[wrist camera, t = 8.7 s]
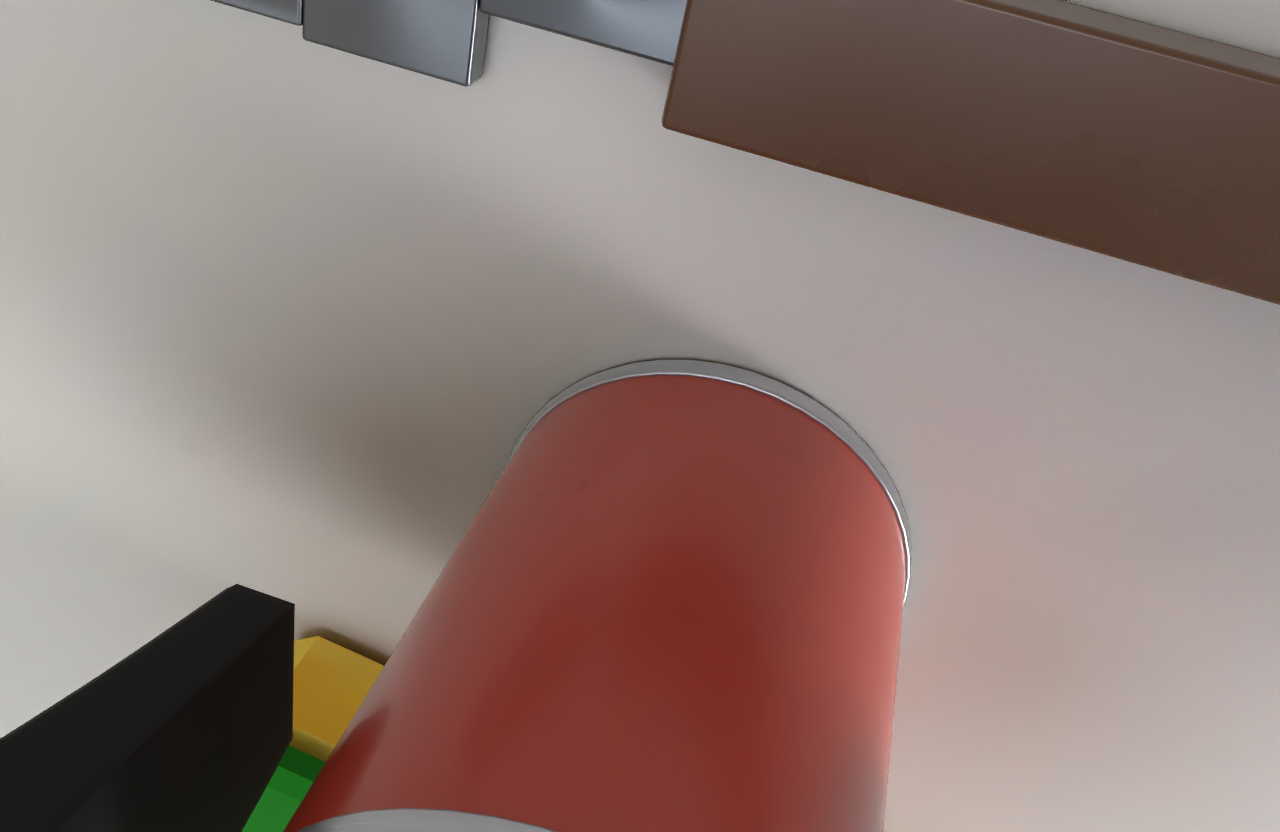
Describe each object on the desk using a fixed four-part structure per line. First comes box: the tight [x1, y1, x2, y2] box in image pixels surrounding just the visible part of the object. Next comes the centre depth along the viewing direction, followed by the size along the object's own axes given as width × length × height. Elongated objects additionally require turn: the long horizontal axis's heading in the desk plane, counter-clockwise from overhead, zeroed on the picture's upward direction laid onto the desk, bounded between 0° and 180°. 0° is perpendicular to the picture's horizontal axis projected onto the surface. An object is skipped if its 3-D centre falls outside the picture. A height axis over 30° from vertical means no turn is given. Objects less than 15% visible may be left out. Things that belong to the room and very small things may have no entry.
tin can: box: [283, 360, 911, 832], centre depth 11 cm, size 5×5×6 cm
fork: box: [211, 0, 1280, 305], centre depth 10 cm, size 15×2×1 cm, turn 78°
